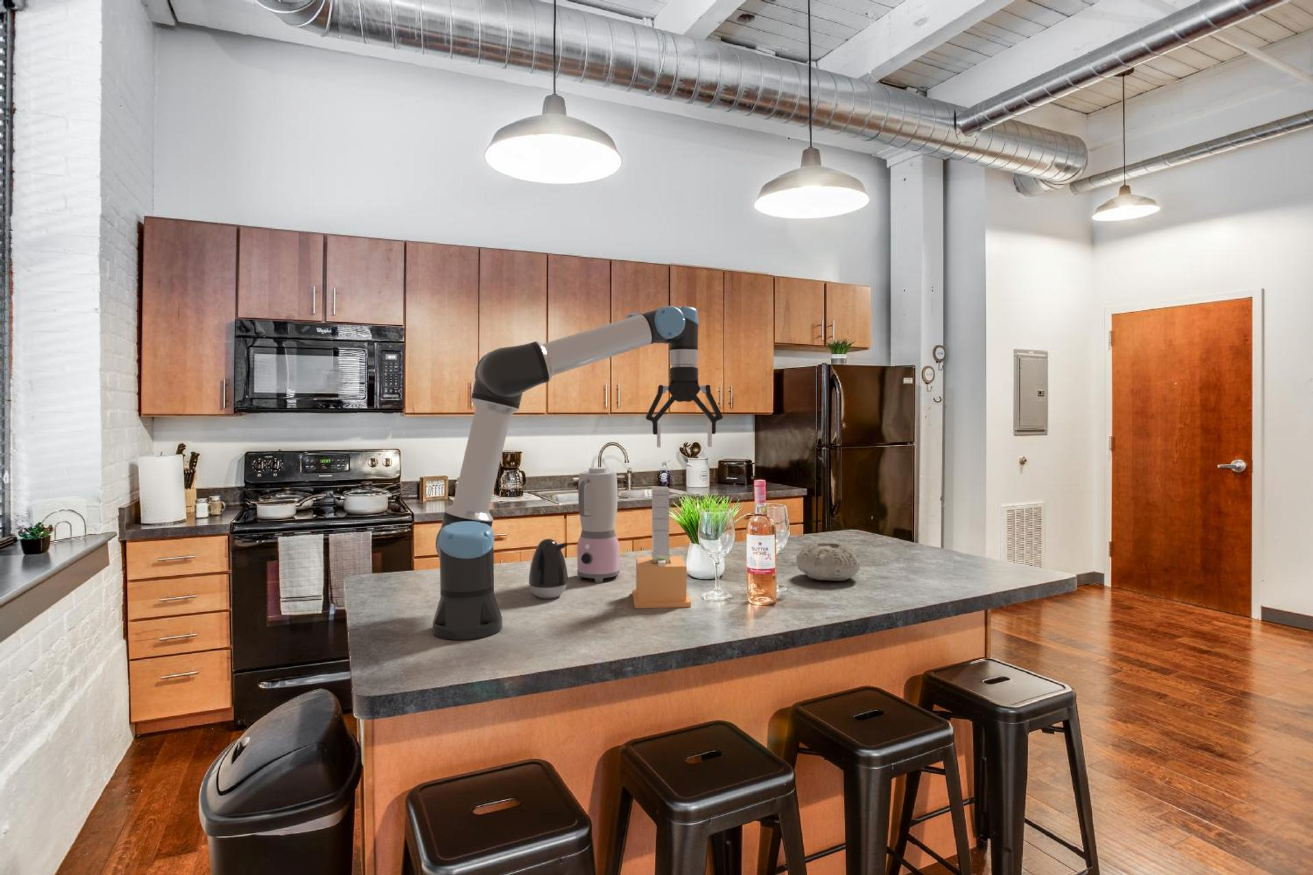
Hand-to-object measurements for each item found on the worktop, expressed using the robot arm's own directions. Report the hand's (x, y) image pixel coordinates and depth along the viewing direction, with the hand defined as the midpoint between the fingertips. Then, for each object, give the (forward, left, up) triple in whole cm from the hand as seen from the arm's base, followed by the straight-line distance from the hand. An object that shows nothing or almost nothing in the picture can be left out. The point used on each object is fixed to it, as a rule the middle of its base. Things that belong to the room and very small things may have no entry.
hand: (684, 447), depth 191 cm
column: (-7, +7, -32) cm, 33 cm away
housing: (-7, +7, -39) cm, 40 cm away
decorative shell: (+12, -43, -39) cm, 60 cm away
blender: (+17, +24, -39) cm, 49 cm away
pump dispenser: (-1, +36, -39) cm, 53 cm away
